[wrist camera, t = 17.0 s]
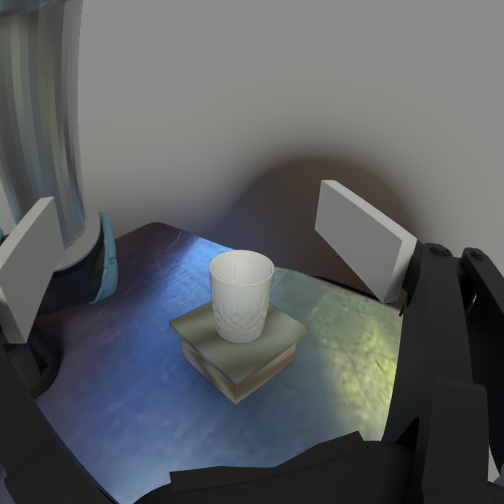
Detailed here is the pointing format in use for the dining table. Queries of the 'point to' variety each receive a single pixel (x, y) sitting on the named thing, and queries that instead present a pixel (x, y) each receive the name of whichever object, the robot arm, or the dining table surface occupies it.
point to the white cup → (240, 294)
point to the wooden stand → (238, 350)
